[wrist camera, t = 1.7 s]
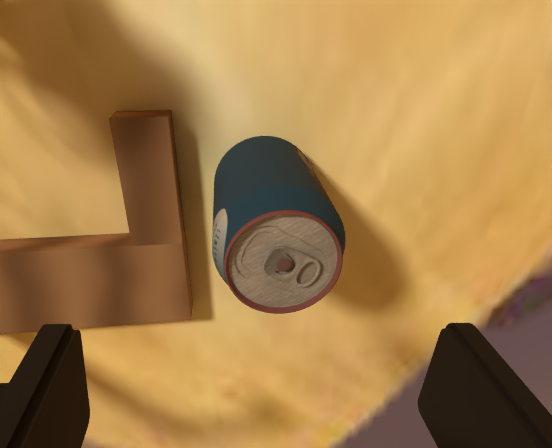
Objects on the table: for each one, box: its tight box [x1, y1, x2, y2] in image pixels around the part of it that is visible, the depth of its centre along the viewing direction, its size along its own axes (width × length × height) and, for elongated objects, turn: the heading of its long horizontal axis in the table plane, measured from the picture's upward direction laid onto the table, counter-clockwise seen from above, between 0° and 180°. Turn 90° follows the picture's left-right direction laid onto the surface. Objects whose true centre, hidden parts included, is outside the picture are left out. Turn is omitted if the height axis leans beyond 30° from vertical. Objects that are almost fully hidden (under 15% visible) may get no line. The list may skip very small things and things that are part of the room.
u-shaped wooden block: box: [0, 110, 193, 334], centre depth 29 cm, size 22×16×2 cm
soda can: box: [212, 136, 345, 314], centre depth 25 cm, size 7×7×12 cm
